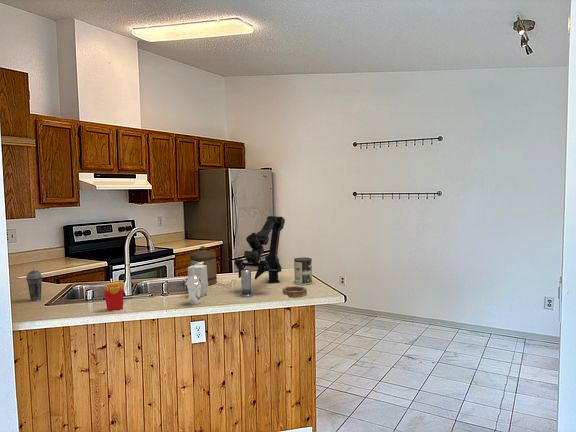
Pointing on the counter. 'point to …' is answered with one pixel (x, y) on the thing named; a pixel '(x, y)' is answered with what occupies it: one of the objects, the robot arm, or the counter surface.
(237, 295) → the stand
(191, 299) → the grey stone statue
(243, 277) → the sleeve
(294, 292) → the brown shallow round dish
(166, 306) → the counter surface
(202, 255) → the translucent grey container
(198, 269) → the skincare box
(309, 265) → the coffee can
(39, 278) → the beverage cup
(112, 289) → the french fries
